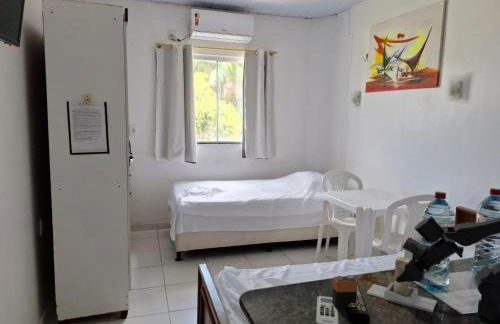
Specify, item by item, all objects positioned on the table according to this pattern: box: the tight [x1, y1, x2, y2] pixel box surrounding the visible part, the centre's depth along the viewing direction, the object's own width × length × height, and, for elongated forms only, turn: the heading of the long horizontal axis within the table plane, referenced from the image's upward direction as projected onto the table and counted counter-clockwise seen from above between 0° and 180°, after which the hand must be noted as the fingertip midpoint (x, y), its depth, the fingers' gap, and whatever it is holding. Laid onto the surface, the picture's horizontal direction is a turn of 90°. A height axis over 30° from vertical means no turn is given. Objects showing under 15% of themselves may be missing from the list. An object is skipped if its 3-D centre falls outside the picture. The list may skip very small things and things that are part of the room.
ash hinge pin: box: [393, 256, 411, 296], centre depth 122 cm, size 4×4×14 cm
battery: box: [331, 274, 358, 309], centre depth 116 cm, size 4×7×10 cm, turn 95°
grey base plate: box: [366, 281, 437, 313], centre depth 122 cm, size 21×9×3 cm, turn 54°
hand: (399, 276), depth 122 cm, fingers open, 9 cm apart
